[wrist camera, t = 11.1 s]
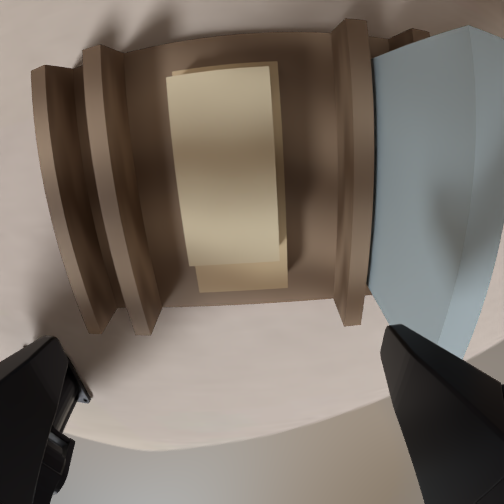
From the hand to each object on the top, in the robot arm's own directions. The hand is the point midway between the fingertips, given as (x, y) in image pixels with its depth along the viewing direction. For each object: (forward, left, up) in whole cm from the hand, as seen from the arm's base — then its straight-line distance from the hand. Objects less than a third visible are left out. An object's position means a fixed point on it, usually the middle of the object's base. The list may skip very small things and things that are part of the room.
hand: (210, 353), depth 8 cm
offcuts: (+2, 0, -11) cm, 11 cm away
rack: (+2, 0, -12) cm, 12 cm away
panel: (+2, -8, -11) cm, 14 cm away
